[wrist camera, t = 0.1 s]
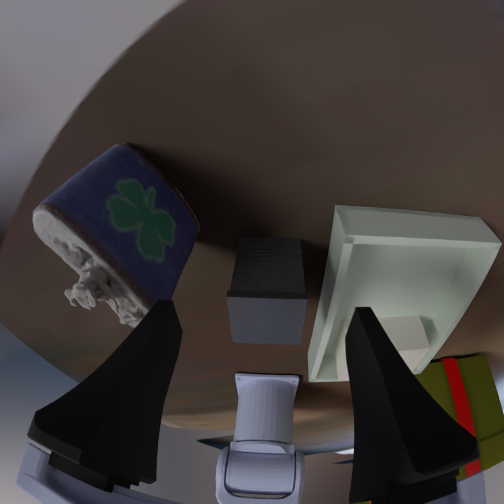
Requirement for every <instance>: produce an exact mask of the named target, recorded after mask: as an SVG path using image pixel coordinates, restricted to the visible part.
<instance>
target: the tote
mask: <svg viewBox="0 0 504 504" xmlns="http://www.w3.org/2000/svg"><path fill="white" fill-rule="evenodd" d="M501 245H502V243H501V242H500V240H499V239H498V238H497V237H496V235H495V234H494V233H493V232H492V231H491V229H490V228H489V227H488V226H487V225H486V224H485V222H484V221H483V220H482V219H481V218H479V217H472V216H463V215H455V214H446V213H436V212H426V211H415V210H404V209H392V208H378V207H363V206H346V205H335V211H334V218H333V225H332V232H331V238H330V245H329V251H328V257H327V263H326V269H325V274H324V280H323V285H322V290H321V295H320V300H319V305H318V310H317V315H316V320H315V325H314V329H313V334H312V338H311V342H310V347H309V351H308V370H309V382H331V381H338V373H337V363H336V354H335V346H336V343H337V340H338V337H339V334H340V331H341V328H342V325H343V322H344V319H345V318H352V316H353V313H354V310H355V307H371V308H372V310H373V312H374V313H375V315H376V317H398V316H417V315H419V316H420V319H421V322H422V325H423V327H424V330H425V333H426V336H427V339H428V342H429V345H430V349H429V351H428V352H427V353H426V355H425V356H424V357H423V359H422V360H421V361H420V363H419V364H418V365H417V367H416V368H415V369H414V370H413V372H412V373H413V374H420V373H421V372H422V371H423V370H424V368H425V367H426V366H427V365H428V363H429V362H430V361H431V360H432V358H433V357H434V356H435V354H436V353H437V352H438V351H439V349H440V348H441V346H442V345H443V344H444V342H445V341H446V340H447V338H448V337H449V335H450V334H451V333H452V331H453V330H454V328H455V327H456V325H457V324H458V322H459V321H460V319H461V318H462V316H463V315H464V313H465V311H466V310H467V308H468V307H469V305H470V303H471V302H472V300H473V298H474V297H475V295H476V293H477V291H478V290H479V288H480V286H481V284H482V283H483V281H484V279H485V277H486V275H487V273H488V271H489V269H490V267H491V265H492V263H493V261H494V259H495V257H496V255H497V253H498V251H499V249H500V247H501ZM347 381H349V380H347Z"/></svg>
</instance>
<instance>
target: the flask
mask: <svg viewBox="0 0 504 504" xmlns="http://www.w3.org/2000/svg"><path fill="white" fill-rule="evenodd" d="M32 221H33V224H34V231H35V232H36V234H37V235H38V237H39V238H40V239H41V240H42V241H43V242H44V243H45V244H46V245H48V246H49V247H50V248H51V249H52V250H53V251H54V252H55V253H56V254H58V255H59V256H60V257H62V259H63V260H64V261H65V262H66V263H67V264H68V265H69V266H70V267H72V268H73V269H74V270H75V271H76V272H77V273H78V274H79V275H80V279H79V282H78V283H77V284H75V285H74V286H73V289H66V290H65V296H66V297H67V298H68V299H69V300H70V303H71V305H73V306H77V305H76V303H75V301H74V299H76V300H77V301H78V302H79V303H80V304H81V306H83V307H84V308H88V309H89V310H91V307H96V306H97V304H98V301H106V302H107V303H108V304H109V305H110V306H111V308H112V309H113V310H114V311H115V312H116V313H117V315H118V316H119V318H120V319H121V320H120V323H122V324H128V325H129V326H131V327H133V328H135V327H136V326H137V325H138V324H139V322H140V321H141V320H142V319H143V318H144V316H145V315H146V314H147V313H148V311H149V310H150V309H151V308H152V306H153V305H154V304H155V303H156V302H157V300H159V299H161V300H171V298H172V296H173V293H174V291H175V288H176V286H177V283H178V280H179V278H180V275H181V273H182V270H183V268H184V266H185V264H186V262H187V259H188V258H189V255H190V253H191V251H192V248H193V246H194V243H195V240H196V238H197V235H198V233H199V231H200V226H199V223H198V221H197V218H196V216H195V214H194V213H193V211H192V209H191V208H190V207H189V205H188V202H187V201H185V199H184V197H183V195H182V194H181V193H180V191H179V190H177V189H176V188H175V186H174V184H172V182H170V181H169V180H168V179H167V178H166V177H165V176H164V174H163V173H162V172H161V171H159V169H158V168H157V167H156V166H155V165H154V164H152V162H151V161H150V160H149V159H148V158H147V157H146V156H144V154H143V153H142V152H141V151H140V150H138V149H137V148H134V147H133V146H131V145H130V144H127V143H122V144H116V145H114V146H112V147H111V148H110V149H108V150H107V151H106V152H104V153H103V154H102V155H100V156H99V157H97V158H96V159H95V160H93V161H92V162H91V163H89V164H88V165H87V166H86V167H84V168H83V169H82V170H80V171H79V172H78V173H77V174H75V175H74V176H73V177H71V178H70V179H69V180H68V181H66V182H65V183H64V184H63V185H61V186H60V187H59V188H58V189H57V190H56V191H55V192H53V193H52V194H51V195H50V196H48V197H47V198H46V199H45V200H44V201H42V202H41V204H40V205H38V206H37V207H36V209H35V210H34V211H33V220H32ZM97 300H98V301H97Z"/></svg>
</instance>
